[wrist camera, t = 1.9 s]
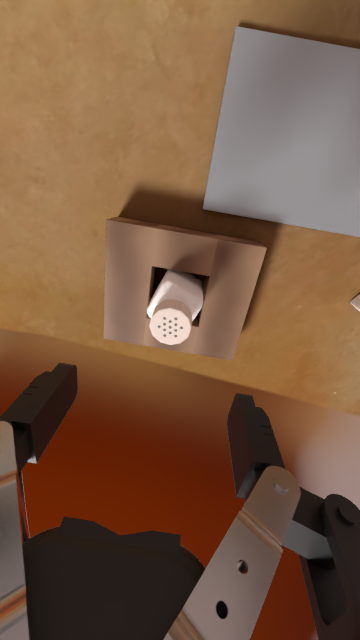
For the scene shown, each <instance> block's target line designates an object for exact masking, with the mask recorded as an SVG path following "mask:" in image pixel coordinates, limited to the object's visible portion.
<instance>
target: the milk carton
mask: <svg viewBox="0 0 360 640" xmlns="http://www.w3.org/2000/svg"><path fill="white" fill-rule="evenodd" d="M351 304H352V305H353V306H354V307H355V308H356V309H357V310H358V311H360V294H359V295H358V296H357V297H355V298H354V299H353V300H352V301H351Z"/></svg>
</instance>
